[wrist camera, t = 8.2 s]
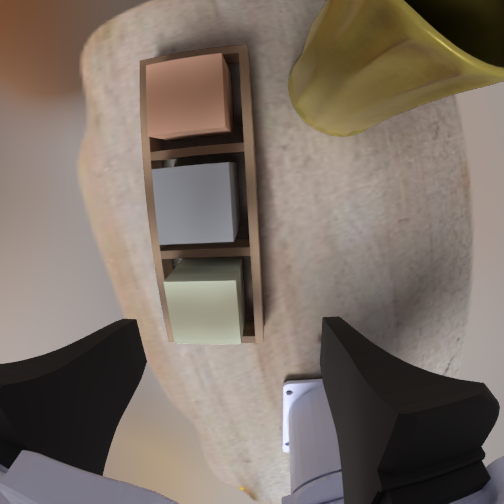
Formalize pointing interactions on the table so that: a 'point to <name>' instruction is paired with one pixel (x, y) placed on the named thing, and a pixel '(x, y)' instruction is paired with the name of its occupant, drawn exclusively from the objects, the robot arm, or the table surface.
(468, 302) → the table surface
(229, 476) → the table surface
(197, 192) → the grey block
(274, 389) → the table surface
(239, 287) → the walnut rack
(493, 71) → the vase
